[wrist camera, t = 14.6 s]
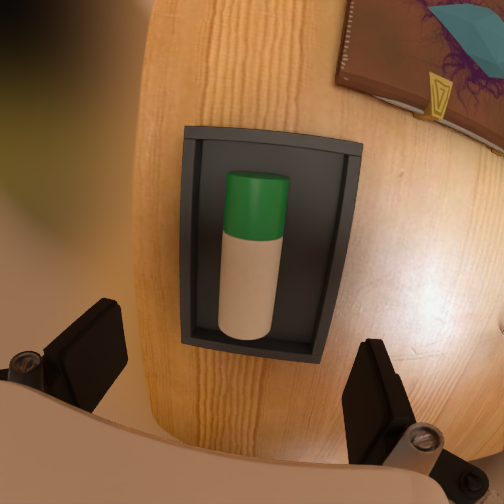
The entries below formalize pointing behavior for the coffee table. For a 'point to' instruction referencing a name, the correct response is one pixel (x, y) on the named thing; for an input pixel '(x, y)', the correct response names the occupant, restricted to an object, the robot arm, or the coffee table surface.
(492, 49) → the book
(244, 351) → the tray
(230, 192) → the marker
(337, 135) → the coffee table surface
